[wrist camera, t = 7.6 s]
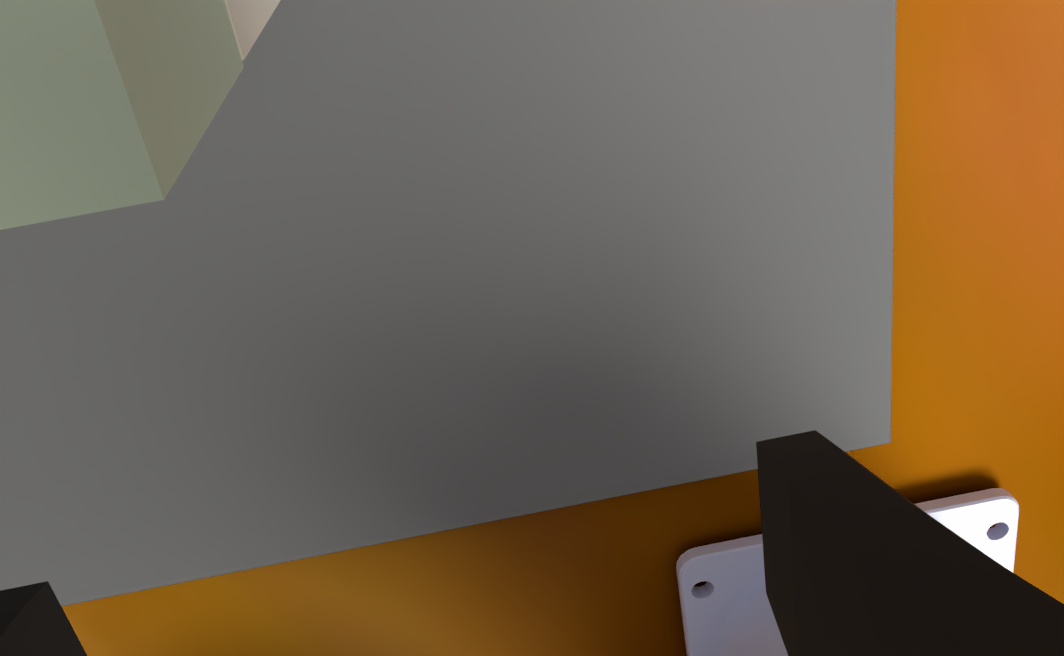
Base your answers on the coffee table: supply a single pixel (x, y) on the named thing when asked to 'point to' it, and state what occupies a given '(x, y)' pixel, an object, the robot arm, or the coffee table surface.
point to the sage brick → (105, 100)
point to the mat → (456, 284)
